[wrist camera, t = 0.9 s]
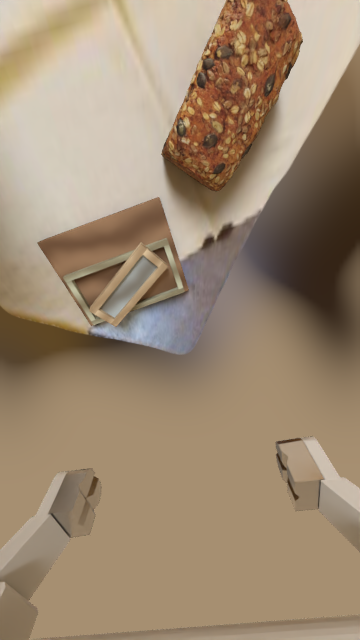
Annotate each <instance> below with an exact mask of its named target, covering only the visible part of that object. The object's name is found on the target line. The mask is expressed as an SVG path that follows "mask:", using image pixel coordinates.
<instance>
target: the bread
mask: <svg viewBox="0 0 360 640" xmlns="http://www.w3.org/2000/svg"><path fill="white" fill-rule="evenodd" d="M302 42H303V39H302V34H301V32H300V31H299V28H298V25H297V22H296V18H295V16H294V14H293V13H292V10H291V8H290V5H289V4H288V2H287V0H226V2H225V5H224V7H223V9H222V11H221V13H220V16H219V18H218V21H217V23H216V25H215V27H214V30H213V33H212V36H211V37H210V39H209V41H208V43H207V45H206V47H205V49H204V52H203V54H202V57H201V59H200V61H199V63H198V65H197V69H196V72H195V74H194V75H193V78H192V80H191V84H190V87H189V89H188V91H187V94H186V96H185V99H184V102H183V104H182V106H181V108H180V110H179V112H178V114H177V117H176V119H175V122H174V124H173V127H172V129H171V131H170V133H169V136H168V138H167V140H166V142H165V144H164V148H163V150H162V154H161V155H162V157H164V158H166V159H167V160H169V161H170V162H172V163H173V164H174V165H176V166H177V167H178V168H180V169H181V170H182V171H184V172H185V173H187V174H188V175H190V176H191V177H193V178H194V179H196V180H197V181H198V182H200V183H201V184H203V185H205V186H206V187H208V188H209V189H211V190H213V191H219V190H221V189H222V188H223V187H224V186H225V184H226V183H227V181H228V180H229V179H230V178H231V177H232V175H233V172H234V171H235V170H236V169H237V168H238V166H239V164H240V161H241V159H242V158H244V156H245V155H246V154H247V153H248V151H249V149H250V147H251V145H252V142H253V141H254V140H255V138H256V137H257V135H258V132H259V130H260V129H261V126H262V124H263V123H264V120H265V117H266V116H267V114H268V112H269V111H270V109H271V108H272V106H273V105H274V104H275V103H276V102H277V100H278V97H279V92H280V89H281V87H282V85H283V83H284V81H285V80H286V79H287V78H288V76H289V73H290V71H291V68H292V67H293V66H294V64H295V62H296V60H297V57H298V55H299V52H300V50H299V49H300V46H301V44H302Z"/></svg>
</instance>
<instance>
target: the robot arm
mask: <svg viewBox="0 0 360 640" xmlns="http://www.w3.org/2000/svg"><path fill="white" fill-rule="evenodd" d="M276 449H277V452H278V453H277V454H276V458H277V463H278V467H279V470H280V473H281V476H282V478H283V480H284V481H285V482H286V483H287V488H288V494H289V496H290V499H291V501H292V504H293V506H294V509H295V511H303V510H315V509H319V511H320V512H321V513H322V514H323V515H324V517H326V519H327V520H328V521H329V522H330V523H331V524H333V526H334V527H335V528H336V529H337V530H338V531H339V532H340V533H341V534H342V535H343V536H344V537H345V538H346V539H347V540H348V541H349V542H350V543H351V544H352V545H353V546H354V547H355V548H356V549H357V550H358V551H359V552H360V488H358V487H357V486H355V485H354V484H353V483H351V482H350V481H349V480H347V479H346V478H340V477H339V475H338V474H337V472H336V470H335V469H334V467H333V465H332V464H331V462H330V461H329V459H328V457H327V456H326V454H325V453H324V451H323V449H322V448H321V446H320V445H319V443H318V441H317V440H316V438H314V437H313V436H310V437H304V438H295V439H289V440H283V441H277V442H276ZM94 474H95V472H94V471H93V469H92V468H89V469H81V470H74V471H65V472H59V473H58V474H57V475H56V476H55V477H54V479H53V481H52V483H51V485H50V487H49V489H48V491H47V493H46V496H45V498H44V500H43V502H42V504H41V506H40V508H39V510H38V512H37V514H36V516H33V517H31V518H30V519H29V520H28V522H27V523H26V524H25V525H24V526H23V527H22V528H21V529H20V530H19V531H18V532H17V533H16V534H15V535H14V536H13V537H12V538H11V539H10V541H8V542H7V544H6V545H5V546H4V547H3V548H2V549H1V550H0V640H360V615H347V616H334V617H321V618H307V619H293V620H280V621H267V622H255V623H254V622H253V623H240V624H227V625H214V626H202V627H187V628H174V629H161V630H147V631H135V632H121V633H107V634H94V635H80V636H68V637H54V638H41V639H29V638H30V635H31V632H32V629H33V626H34V623H35V620H36V618H37V615H38V610H37V608H36V607H35V606H34V605H33V604H31V603H30V602H29V600H30V598H31V597H32V595H33V593H34V592H35V591H36V589H37V588H38V586H39V585H40V583H41V582H42V581H43V579H44V577H45V576H46V575H47V573H48V572H49V570H50V569H51V567H52V566H53V564H54V563H55V561H56V560H57V558H58V557H59V556H60V554H61V553H62V551H63V550H64V548H65V547H66V545H67V544H68V542H69V541H70V538H72V537H79V536H86V535H89V534H90V532H91V529H92V525H93V522H94V519H95V512H94V509H95V507H96V506H97V505H98V503H99V501H100V497H101V482H100V481H99V479H98V478H96V477H95V476H94Z"/></svg>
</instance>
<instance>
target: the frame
mask: <svg viewBox="0 0 360 640" xmlns="http://www.w3.org/2000/svg"><path fill="white" fill-rule="evenodd" d="M167 267H168V266H167V263H165V262H164V261H163V260H162V259H161V258H159V257H158V256H157V255H156V254H155V253H153V252H152V251H151V250H150V249H149V248H148V247H146V246H145V245H144V244H143V243H142V242H141V243H140V244H139V245H138V246H137V248H136V249H135V250H134V252H133V253H132V254H131V255H130V257H129V258H128V259H127V260H126V262H125V263H124V264H123V266H122V267H121V268H120V269H119V271H118V272H117V273H116V274H115V276H114V277H113V278H112V280H111V281H110V282H109V283H108V285H107V286H106V287H105V288H104V290H103V291H102V292H101V294H100V295H99V296H98V297H97V299H96V300H95V301H94V303H93V304H92V305H91V306H90V309H89V311H90V312H91V313H93V314H95V315H96V316H98V317H100V318H101V319H103V320H105V321H107V322H108V323H110V324H112V325H113V326H115V327H116V326H117V325H118V324H119V323H120V322H121V321H122V319H123V318H124V317H125V316H126V315H127V314H128V313H129V311H130V310H131V309H132V308H133V307H134V306H135V304H136V303H137V302H138V301H139V300H140V299H141V297H142V296H143V295H144V294H145V293H146V292H147V290H148V289H149V288H150V287H151V286H152V285H153V283H154V282H155V281H156V280H157V279H158V278H159V276H160V275H161V274H162V273H163V272H164V271H165V269H166V268H167Z"/></svg>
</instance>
